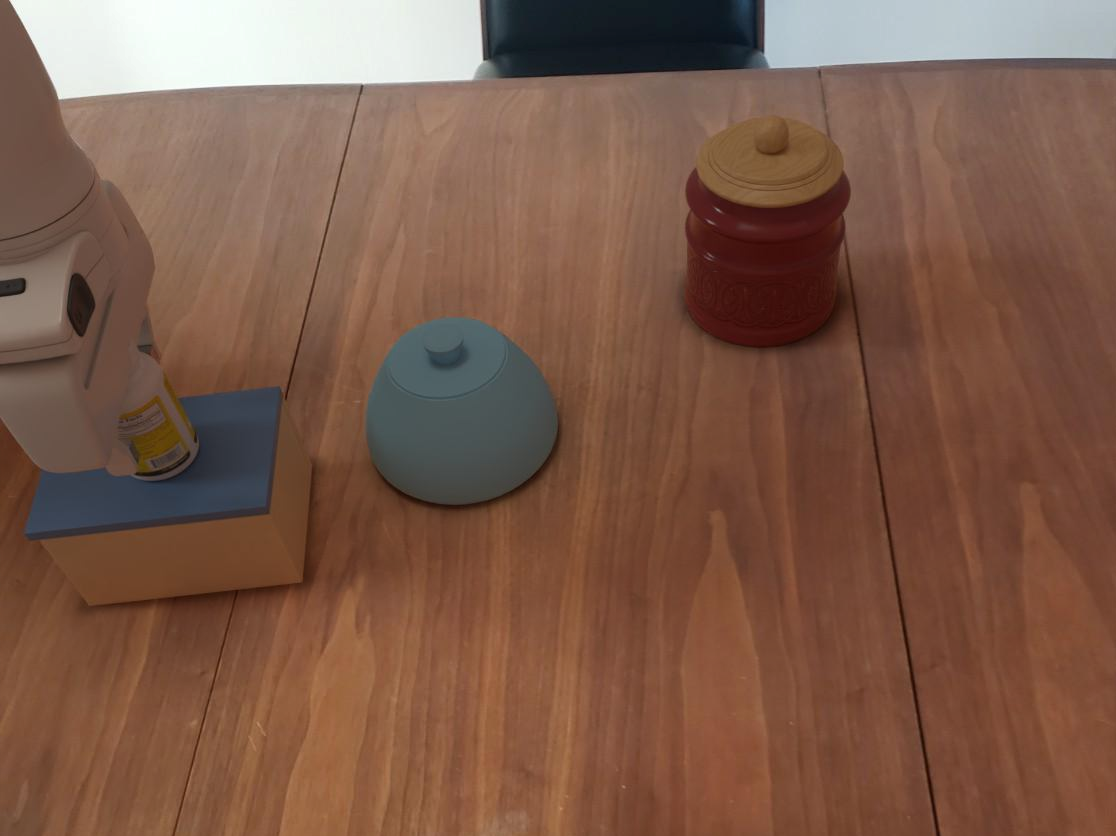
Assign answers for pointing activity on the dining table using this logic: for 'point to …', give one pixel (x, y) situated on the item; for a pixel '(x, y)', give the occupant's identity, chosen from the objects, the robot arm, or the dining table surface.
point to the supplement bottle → (155, 421)
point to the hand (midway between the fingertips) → (138, 415)
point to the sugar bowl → (459, 413)
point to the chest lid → (190, 496)
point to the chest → (200, 544)
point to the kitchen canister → (765, 231)
